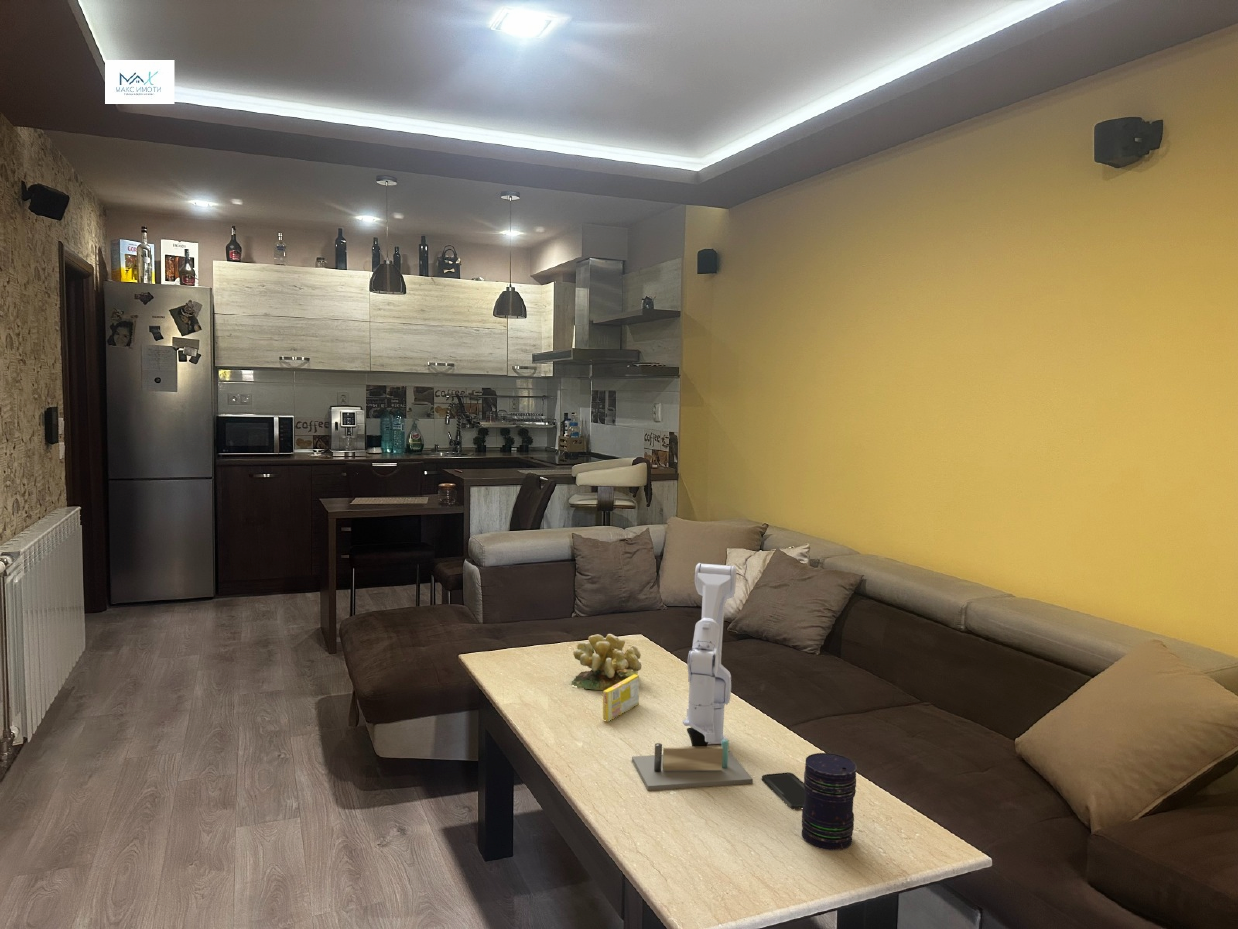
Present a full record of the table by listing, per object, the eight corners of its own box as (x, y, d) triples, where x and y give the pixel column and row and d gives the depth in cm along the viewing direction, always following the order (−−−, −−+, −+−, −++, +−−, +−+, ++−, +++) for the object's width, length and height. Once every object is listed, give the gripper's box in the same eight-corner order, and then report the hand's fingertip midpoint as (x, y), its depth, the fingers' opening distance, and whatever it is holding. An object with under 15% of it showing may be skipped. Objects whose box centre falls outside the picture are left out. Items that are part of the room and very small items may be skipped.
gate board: (631, 760, 196) (632, 756, 196) (729, 754, 201) (729, 750, 201) (647, 790, 181) (647, 786, 181) (752, 783, 186) (752, 779, 186)
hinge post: (653, 773, 189) (654, 743, 189) (659, 773, 190) (661, 743, 189) (654, 776, 188) (656, 746, 187) (661, 776, 188) (662, 746, 188)
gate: (662, 767, 189) (663, 746, 189) (720, 768, 190) (721, 746, 190) (663, 770, 188) (664, 748, 188) (721, 770, 189) (722, 748, 189)
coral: (557, 680, 255) (553, 634, 252) (625, 663, 264) (622, 618, 261) (580, 706, 238) (576, 658, 235) (652, 687, 247) (649, 640, 244)
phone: (791, 772, 191) (825, 802, 177) (791, 776, 191) (825, 808, 177) (759, 775, 189) (791, 806, 174) (759, 780, 189) (791, 812, 175)
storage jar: (790, 836, 164) (794, 762, 163) (818, 819, 171) (822, 748, 170) (835, 857, 157) (840, 779, 156) (862, 839, 164) (866, 765, 163)
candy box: (632, 702, 233) (633, 673, 233) (639, 704, 232) (640, 675, 231) (601, 721, 219) (602, 690, 219) (608, 723, 218) (609, 692, 218)
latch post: (719, 769, 193) (720, 739, 192) (725, 769, 193) (727, 739, 192) (721, 772, 191) (722, 742, 191) (728, 772, 191) (729, 742, 191)
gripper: (675, 691, 196) (673, 747, 197) (693, 714, 182) (691, 775, 183) (704, 689, 197) (701, 745, 198) (724, 713, 183) (722, 773, 184)
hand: (698, 759), depth 191 cm, fingers closed, pressing on gate
